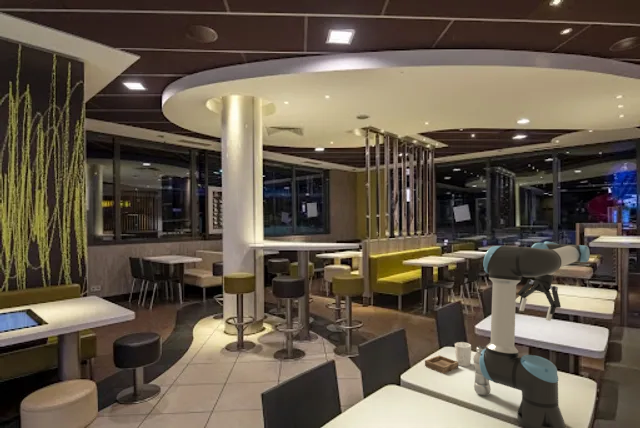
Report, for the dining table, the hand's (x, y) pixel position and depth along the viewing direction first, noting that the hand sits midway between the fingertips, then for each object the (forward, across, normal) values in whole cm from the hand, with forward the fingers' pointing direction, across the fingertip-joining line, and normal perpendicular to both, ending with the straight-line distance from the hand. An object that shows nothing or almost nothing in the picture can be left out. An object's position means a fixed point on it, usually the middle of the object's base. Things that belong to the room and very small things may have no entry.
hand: (534, 315), depth 186 cm
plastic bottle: (+36, -7, +34) cm, 50 cm away
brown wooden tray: (+38, +23, +28) cm, 52 cm away
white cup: (+35, +20, +16) cm, 43 cm away
